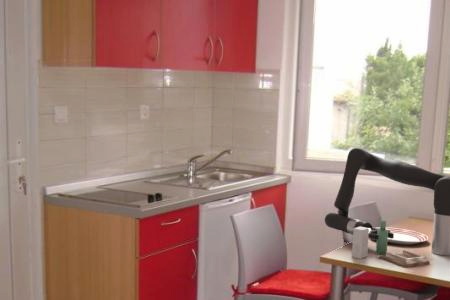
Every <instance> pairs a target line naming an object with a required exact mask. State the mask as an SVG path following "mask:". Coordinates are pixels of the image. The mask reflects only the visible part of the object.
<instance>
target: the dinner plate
mask: <svg viewBox="0 0 450 300" xmlns="http://www.w3.org/2000/svg"><path fill="white" fill-rule="evenodd" d="M376 228H378V229H379V228H380V226H379V227H376ZM386 230H390V233H393V234H394V238H392V239H391V238H388V241H387V243H390V244H395V245H409V246H410V245H415V244H419V243H424V242H427V241H428V240H429V237H428V235H426V234H424V233H422V232H418V231H414V230H409V229H404V228H397V227H386Z"/></svg>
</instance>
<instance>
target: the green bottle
mask: <svg viewBox="0 0 450 300" xmlns="http://www.w3.org/2000/svg"><path fill="white" fill-rule="evenodd" d="M379 227H380V229H378V230H377V235H378V236H379V237H378V240H376V246H375V254H378V255H380V256H383V255H386V252H388V242H387V241H388V230H386V228H387V221H386V220H383V219H382V220H380V226H379Z"/></svg>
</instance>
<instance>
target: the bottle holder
mask: <svg viewBox="0 0 450 300" xmlns="http://www.w3.org/2000/svg"><path fill="white" fill-rule="evenodd" d="M378 259H380V260H383V261H386V262H388V263H391V264H392V265H397V266H399V267H402V268H410V267H419V266H424V265H425V266H426V265H430V263H431V261H429V260H427V256H424V255H421V254H418V253H416V252H415V253H414V252H412V251H409V250H406V249H403V250H402V252H400V253H392V252H390V251H387V252H386V255H378Z"/></svg>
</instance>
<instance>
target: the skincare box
mask: <svg viewBox="0 0 450 300" xmlns="http://www.w3.org/2000/svg"><path fill="white" fill-rule="evenodd" d="M368 234H369V228H366V227H357V228H354V229H353V235H352V246H351V247H352V249H351V250H352V251H351V257H352V258H355V259H360V260H361V259H363V258H365V257H368V248H369V247H368V246H369V238H368Z"/></svg>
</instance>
